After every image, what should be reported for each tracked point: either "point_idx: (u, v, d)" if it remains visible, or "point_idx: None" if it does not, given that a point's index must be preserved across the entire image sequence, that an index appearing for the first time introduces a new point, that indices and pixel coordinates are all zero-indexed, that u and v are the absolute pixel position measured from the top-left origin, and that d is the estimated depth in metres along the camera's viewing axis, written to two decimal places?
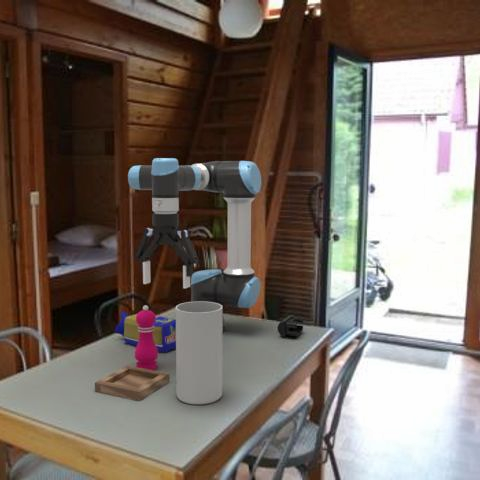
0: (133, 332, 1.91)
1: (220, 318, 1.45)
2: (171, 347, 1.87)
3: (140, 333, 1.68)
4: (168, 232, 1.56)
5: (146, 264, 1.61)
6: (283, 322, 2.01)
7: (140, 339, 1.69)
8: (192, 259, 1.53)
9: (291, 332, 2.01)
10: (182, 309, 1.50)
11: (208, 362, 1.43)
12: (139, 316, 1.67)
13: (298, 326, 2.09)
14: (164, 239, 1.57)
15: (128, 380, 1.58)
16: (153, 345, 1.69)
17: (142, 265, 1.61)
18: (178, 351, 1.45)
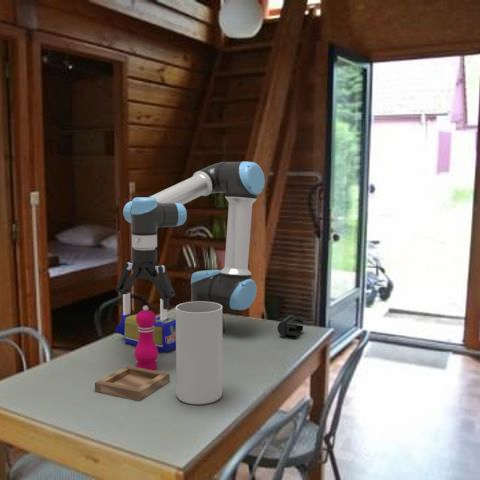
0: (133, 332, 1.91)
1: (220, 318, 1.45)
2: (171, 347, 1.87)
3: (140, 333, 1.68)
4: (146, 267, 1.65)
5: (126, 296, 1.70)
6: (283, 322, 2.01)
7: (140, 339, 1.69)
8: (169, 293, 1.63)
9: (291, 332, 2.01)
10: (182, 309, 1.51)
11: (208, 362, 1.43)
12: (139, 316, 1.67)
13: (298, 326, 2.09)
14: (143, 273, 1.66)
15: (128, 380, 1.58)
16: (153, 345, 1.69)
17: (122, 297, 1.71)
18: (178, 351, 1.45)
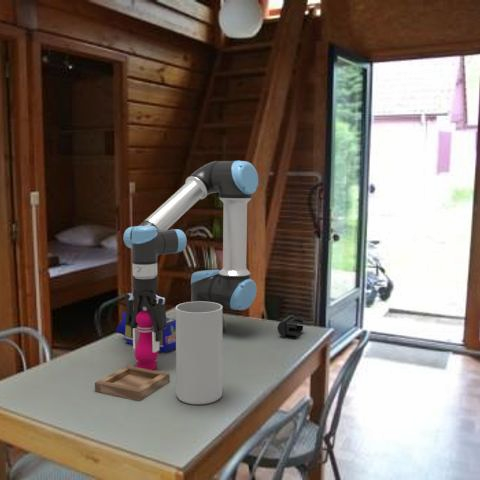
0: None
1: (220, 318, 1.45)
2: (172, 347, 1.87)
3: (140, 333, 1.68)
4: (147, 295, 1.66)
5: (136, 330, 1.70)
6: (283, 322, 2.01)
7: (140, 339, 1.69)
8: (161, 326, 1.66)
9: (291, 332, 2.01)
10: (182, 309, 1.50)
11: (208, 362, 1.43)
12: (139, 316, 1.67)
13: (298, 326, 2.09)
14: (144, 301, 1.67)
15: (128, 380, 1.58)
16: None
17: (132, 331, 1.71)
18: (178, 351, 1.45)
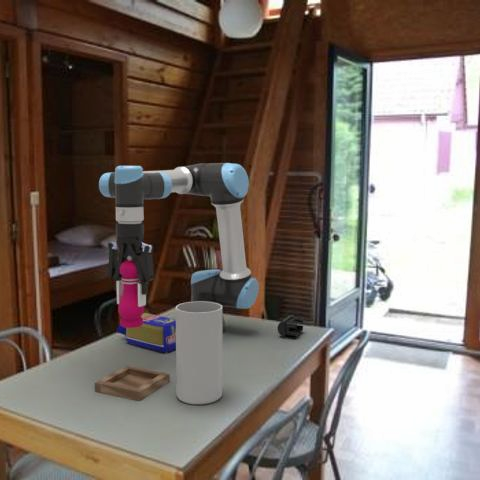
0: (134, 332, 1.91)
1: (220, 318, 1.45)
2: (172, 347, 1.87)
3: (124, 285, 1.51)
4: (132, 243, 1.49)
5: (120, 283, 1.53)
6: (283, 322, 2.01)
7: (124, 292, 1.52)
8: (147, 277, 1.49)
9: (291, 332, 2.01)
10: (182, 309, 1.50)
11: (208, 362, 1.43)
12: (123, 266, 1.50)
13: (298, 326, 2.09)
14: (128, 250, 1.50)
15: (128, 380, 1.58)
16: None
17: (116, 284, 1.54)
18: (178, 351, 1.45)
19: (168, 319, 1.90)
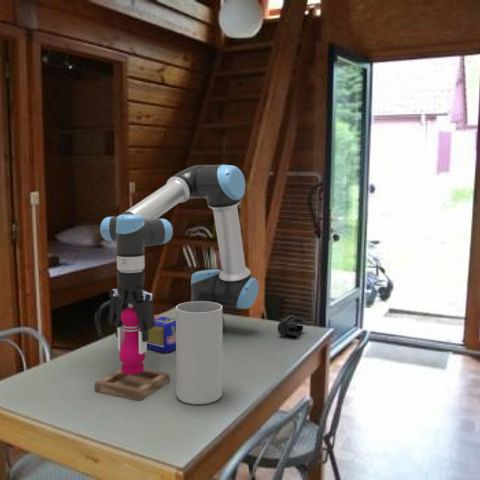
0: None
1: (220, 318, 1.45)
2: (173, 347, 1.87)
3: (125, 332, 1.53)
4: (133, 291, 1.51)
5: (121, 330, 1.55)
6: (283, 322, 2.01)
7: (125, 339, 1.53)
8: (148, 325, 1.50)
9: (291, 332, 2.01)
10: (182, 309, 1.50)
11: (208, 362, 1.43)
12: (124, 314, 1.51)
13: (298, 326, 2.09)
14: (129, 298, 1.52)
15: (128, 380, 1.58)
16: None
17: (117, 330, 1.56)
18: (178, 351, 1.45)
19: (168, 319, 1.90)
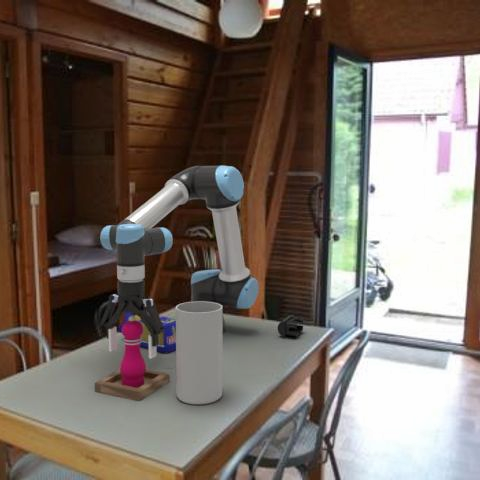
0: None
1: (220, 318, 1.45)
2: (173, 347, 1.86)
3: (126, 346, 1.54)
4: (133, 300, 1.52)
5: (112, 331, 1.57)
6: (283, 322, 2.01)
7: (126, 352, 1.54)
8: (157, 329, 1.49)
9: (291, 332, 2.01)
10: (182, 309, 1.50)
11: (208, 362, 1.43)
12: (125, 327, 1.52)
13: (298, 326, 2.09)
14: (129, 307, 1.52)
15: None
16: (140, 359, 1.54)
17: (108, 332, 1.57)
18: (178, 351, 1.45)
19: (169, 319, 1.90)
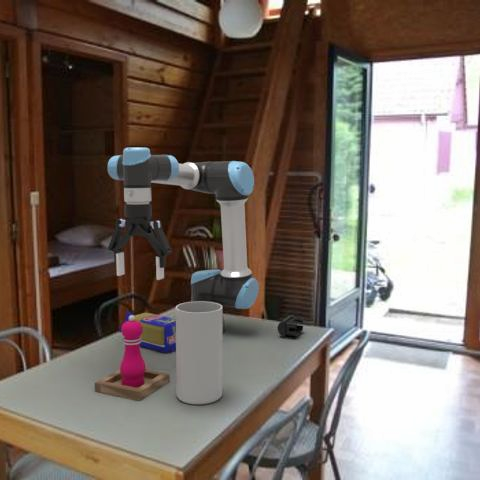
0: None
1: (220, 318, 1.45)
2: (174, 347, 1.86)
3: (126, 346, 1.54)
4: (141, 223, 1.53)
5: (119, 256, 1.59)
6: (283, 322, 2.01)
7: (126, 352, 1.54)
8: (165, 250, 1.51)
9: (291, 332, 2.01)
10: (182, 309, 1.50)
11: (208, 362, 1.43)
12: (124, 327, 1.52)
13: (298, 326, 2.09)
14: (137, 230, 1.54)
15: None
16: (140, 359, 1.54)
17: (115, 257, 1.59)
18: (178, 351, 1.45)
19: (170, 319, 1.90)
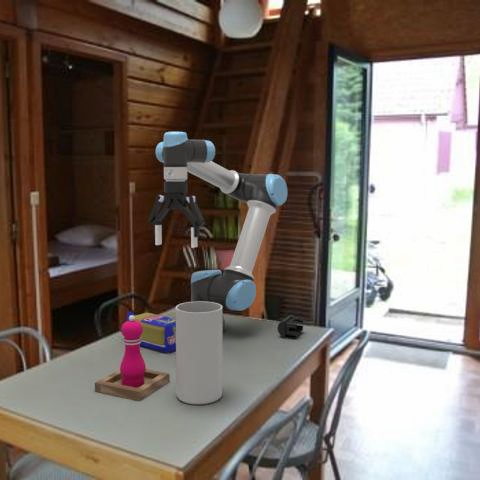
0: None
1: (220, 318, 1.45)
2: (174, 348, 1.86)
3: (126, 346, 1.54)
4: (178, 198, 1.75)
5: (158, 227, 1.81)
6: (283, 322, 2.01)
7: (126, 352, 1.54)
8: (199, 221, 1.73)
9: (291, 332, 2.01)
10: (182, 309, 1.50)
11: (208, 362, 1.43)
12: (125, 327, 1.52)
13: (298, 326, 2.09)
14: (174, 204, 1.76)
15: None
16: (140, 359, 1.54)
17: (154, 228, 1.81)
18: (178, 351, 1.45)
19: (170, 319, 1.90)
